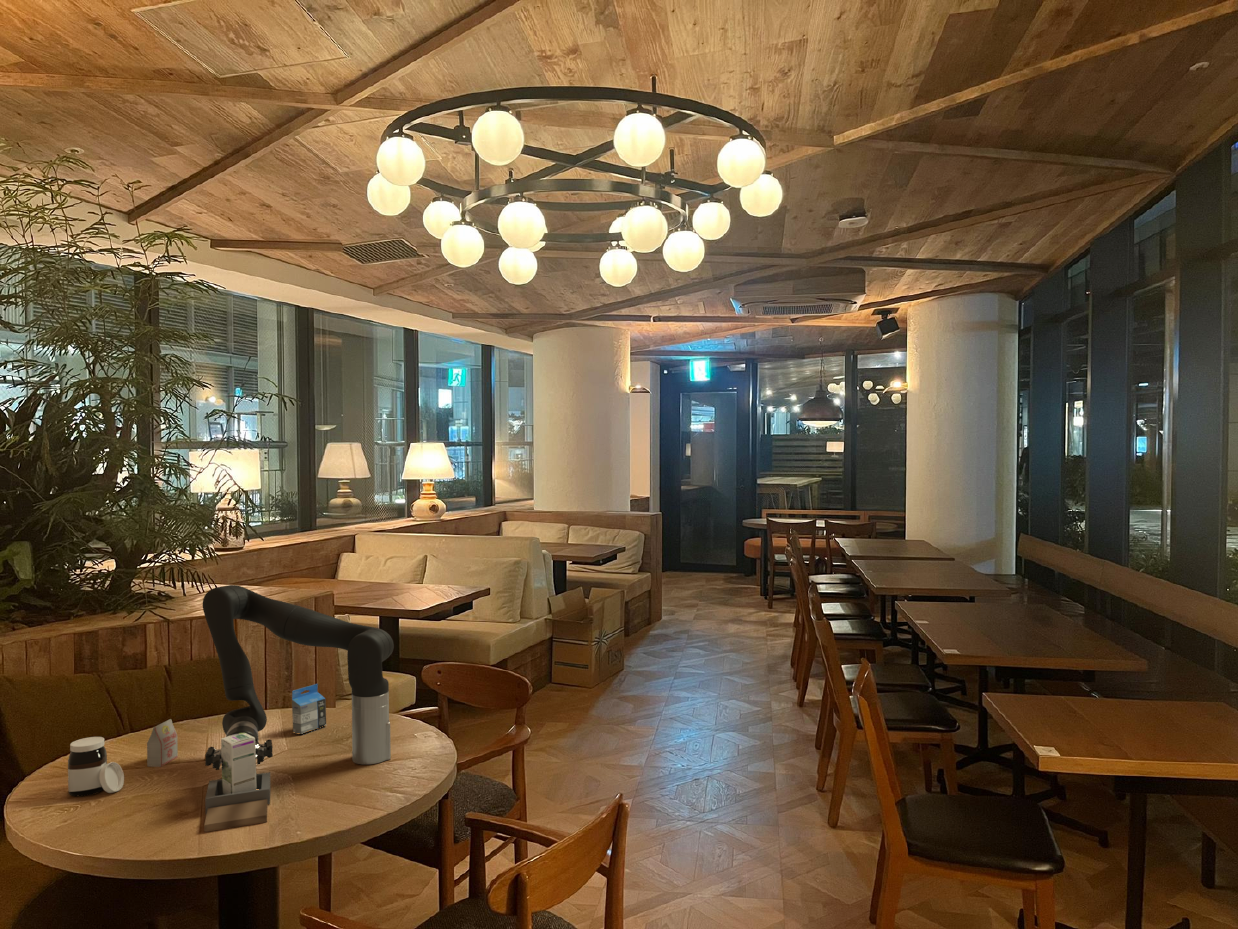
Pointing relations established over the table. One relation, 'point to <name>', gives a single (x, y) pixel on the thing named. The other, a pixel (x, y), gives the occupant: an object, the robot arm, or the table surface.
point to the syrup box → (238, 763)
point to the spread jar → (92, 768)
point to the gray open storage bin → (217, 799)
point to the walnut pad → (236, 815)
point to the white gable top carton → (162, 745)
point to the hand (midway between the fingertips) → (238, 763)
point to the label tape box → (308, 709)
